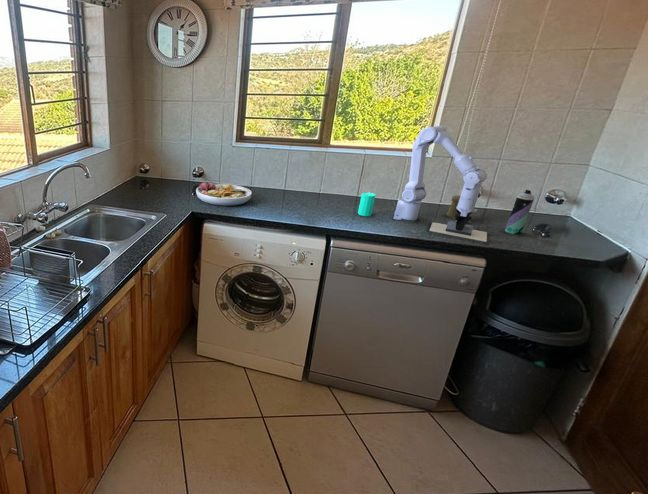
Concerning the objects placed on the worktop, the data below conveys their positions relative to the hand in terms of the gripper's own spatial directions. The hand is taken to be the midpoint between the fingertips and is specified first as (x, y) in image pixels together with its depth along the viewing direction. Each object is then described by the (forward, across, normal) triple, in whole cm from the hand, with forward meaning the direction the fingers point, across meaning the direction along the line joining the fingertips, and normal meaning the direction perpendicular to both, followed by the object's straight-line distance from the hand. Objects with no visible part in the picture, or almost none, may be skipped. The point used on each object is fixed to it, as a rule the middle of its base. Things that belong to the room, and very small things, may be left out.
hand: (459, 227), depth 175 cm
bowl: (+3, -20, +105) cm, 107 cm away
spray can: (+3, +16, -19) cm, 25 cm away
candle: (+3, +3, +38) cm, 38 cm away
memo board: (+3, +1, 0) cm, 3 cm away
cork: (+3, +26, +3) cm, 26 cm away
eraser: (+2, 0, 0) cm, 2 cm away
